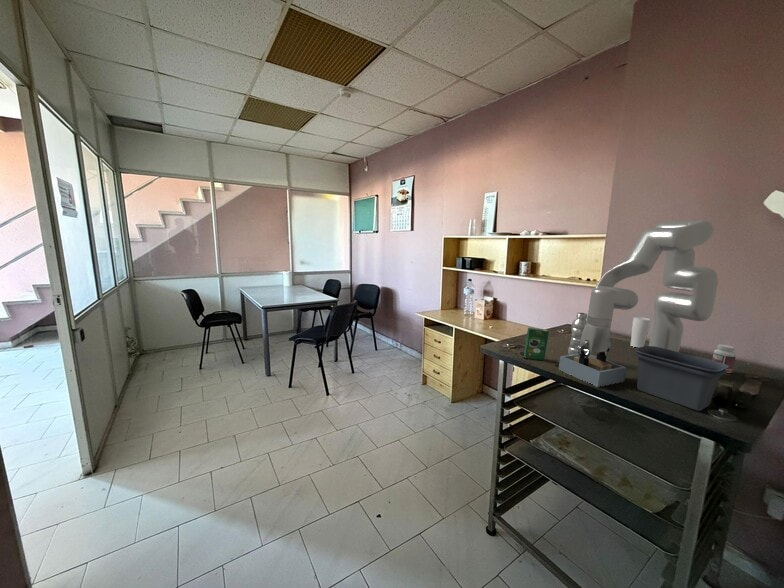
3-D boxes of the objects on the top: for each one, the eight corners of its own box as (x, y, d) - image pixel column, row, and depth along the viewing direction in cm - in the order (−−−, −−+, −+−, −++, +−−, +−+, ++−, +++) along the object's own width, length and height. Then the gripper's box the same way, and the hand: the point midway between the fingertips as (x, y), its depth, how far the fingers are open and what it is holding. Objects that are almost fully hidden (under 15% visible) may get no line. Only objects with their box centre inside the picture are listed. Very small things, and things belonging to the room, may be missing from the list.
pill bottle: (730, 371, 130) (736, 346, 128) (732, 376, 125) (739, 349, 123) (709, 367, 134) (715, 342, 132) (710, 371, 129) (716, 345, 127)
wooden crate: (584, 367, 124) (586, 355, 123) (610, 377, 115) (612, 364, 114) (572, 369, 122) (574, 357, 121) (597, 380, 112) (599, 367, 112)
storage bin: (623, 387, 109) (631, 348, 107) (644, 379, 117) (651, 343, 115) (706, 418, 91) (717, 372, 89) (724, 407, 99) (734, 364, 97)
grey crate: (583, 365, 128) (585, 352, 127) (624, 381, 114) (626, 367, 113) (558, 369, 123) (560, 356, 122) (597, 387, 109) (600, 372, 108)
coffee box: (543, 358, 135) (547, 328, 132) (545, 360, 132) (549, 330, 130) (523, 356, 136) (527, 327, 134) (524, 358, 133) (528, 328, 131)
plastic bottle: (587, 361, 134) (595, 315, 130) (571, 360, 134) (578, 314, 130) (579, 355, 140) (585, 312, 137) (563, 355, 140) (570, 311, 137)
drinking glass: (646, 350, 152) (651, 320, 150) (628, 347, 156) (634, 318, 153) (644, 347, 158) (650, 318, 155) (627, 344, 162) (633, 315, 159)
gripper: (604, 318, 122) (597, 360, 125) (573, 320, 115) (566, 364, 118) (624, 323, 115) (616, 367, 118) (592, 326, 108) (585, 372, 111)
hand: (591, 366), depth 118 cm, fingers open, 9 cm apart
